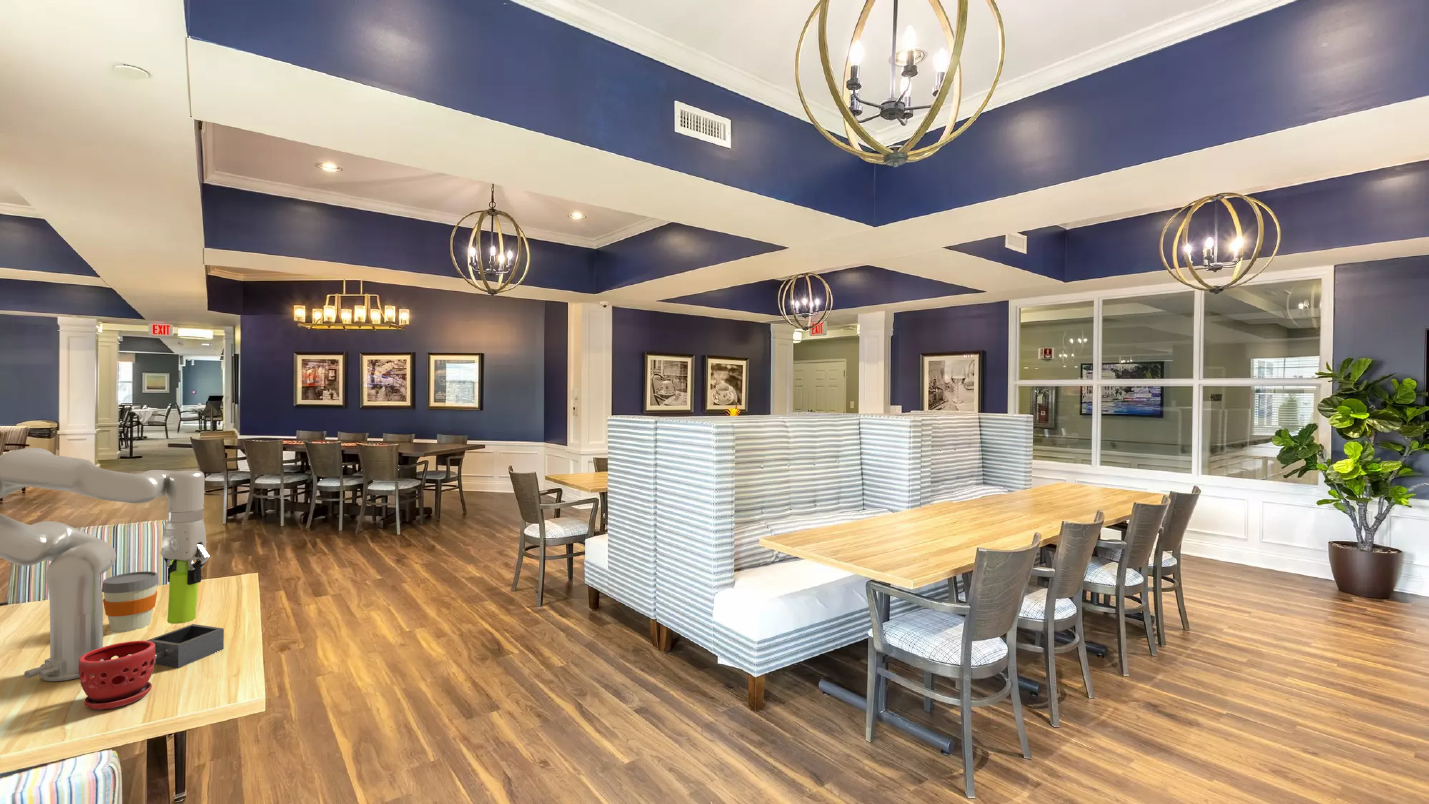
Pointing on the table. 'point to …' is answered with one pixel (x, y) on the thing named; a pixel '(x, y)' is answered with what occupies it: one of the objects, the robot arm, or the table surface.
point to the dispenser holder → (187, 645)
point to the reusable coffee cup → (130, 600)
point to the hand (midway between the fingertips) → (184, 581)
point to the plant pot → (117, 674)
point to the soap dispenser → (181, 596)
